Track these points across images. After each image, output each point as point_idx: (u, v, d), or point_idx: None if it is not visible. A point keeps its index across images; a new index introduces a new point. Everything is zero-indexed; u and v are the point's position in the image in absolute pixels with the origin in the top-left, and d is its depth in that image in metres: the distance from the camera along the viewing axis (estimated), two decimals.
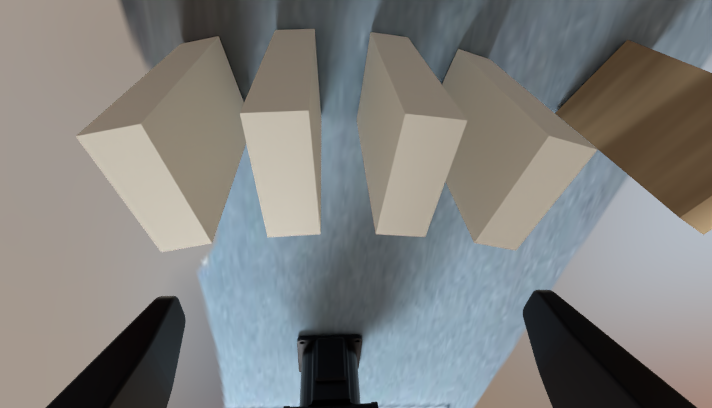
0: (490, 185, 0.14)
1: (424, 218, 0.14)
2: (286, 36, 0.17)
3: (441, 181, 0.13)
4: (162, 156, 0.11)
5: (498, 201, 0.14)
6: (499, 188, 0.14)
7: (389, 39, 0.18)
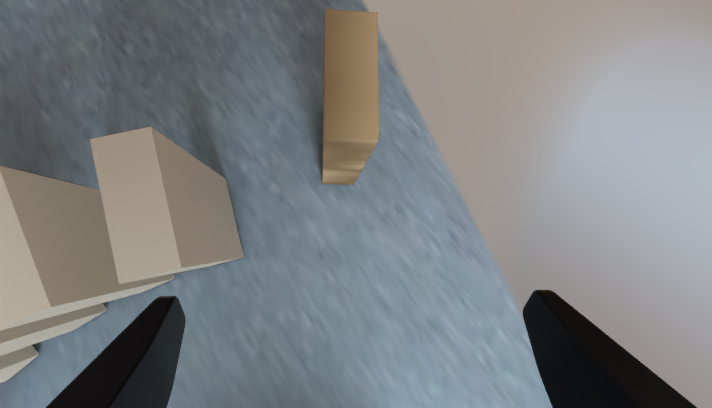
0: None
1: (31, 283, 0.11)
2: None
3: (17, 232, 0.12)
4: None
5: (110, 223, 0.12)
6: None
7: None
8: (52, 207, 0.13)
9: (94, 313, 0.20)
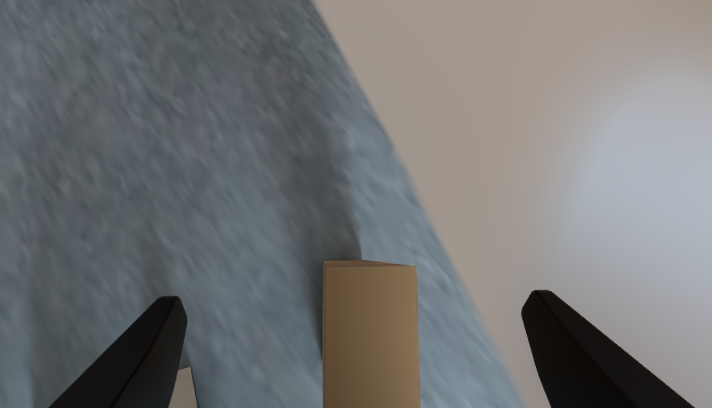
0: None
1: None
2: None
3: None
4: None
5: None
6: None
7: None
8: None
9: None
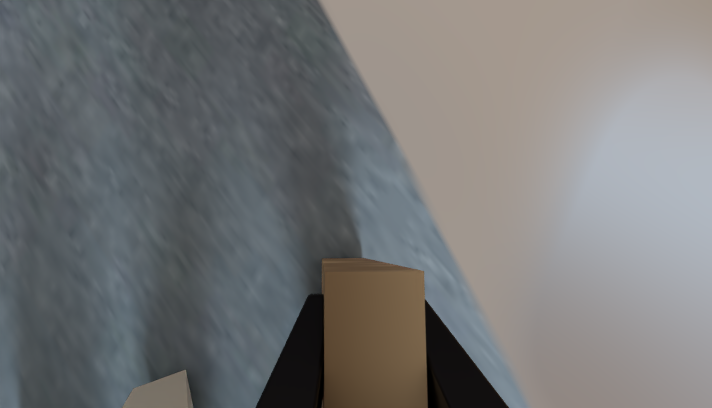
0: None
1: None
2: None
3: None
4: None
5: None
6: None
7: None
8: None
9: None
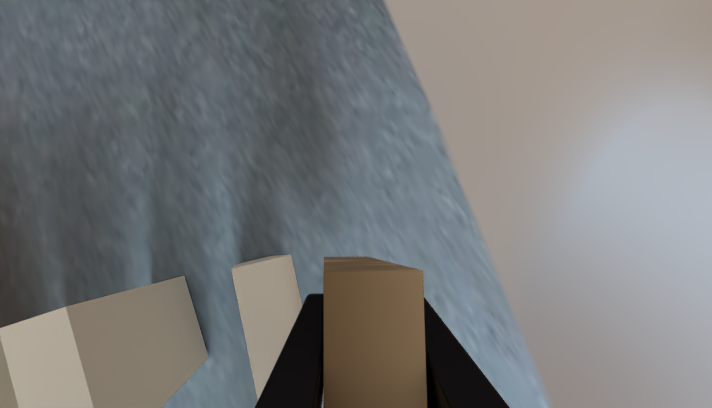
0: None
1: None
2: None
3: (80, 379, 0.11)
4: None
5: (249, 357, 0.12)
6: None
7: None
8: (110, 332, 0.13)
9: None
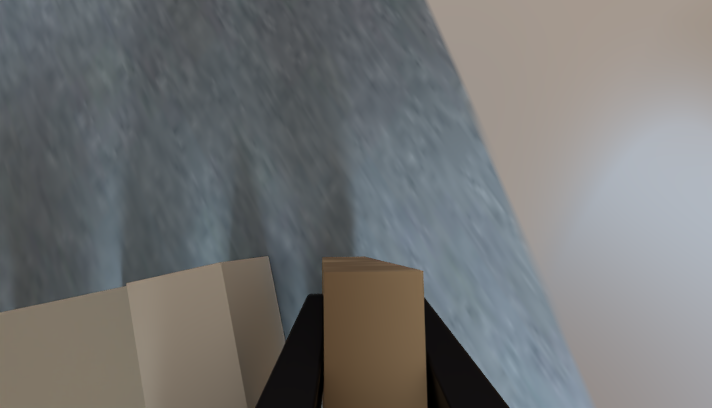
0: None
1: None
2: None
3: None
4: None
5: None
6: None
7: None
8: (36, 357, 0.09)
9: None
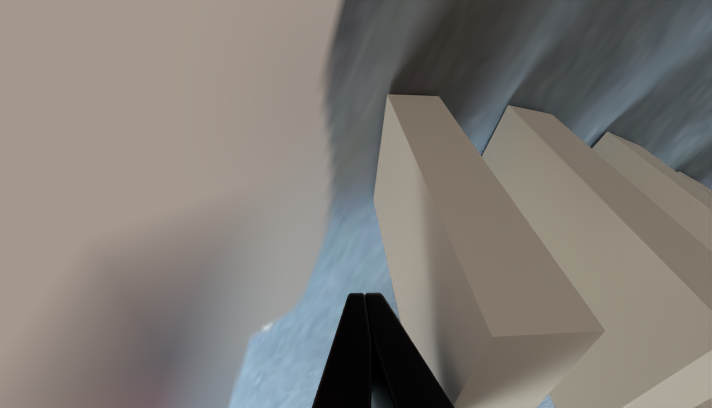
0: None
1: None
2: (539, 123, 0.13)
3: None
4: (570, 361, 0.07)
5: None
6: None
7: (638, 150, 0.15)
8: None
9: None
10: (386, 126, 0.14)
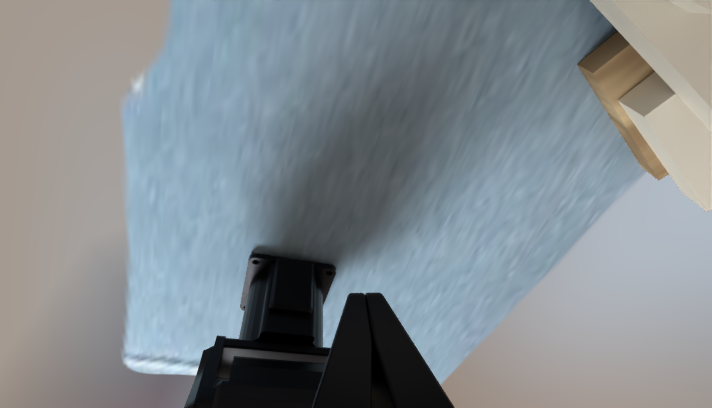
0: None
1: None
2: None
3: None
4: None
5: None
6: None
7: None
8: None
9: None
10: None
